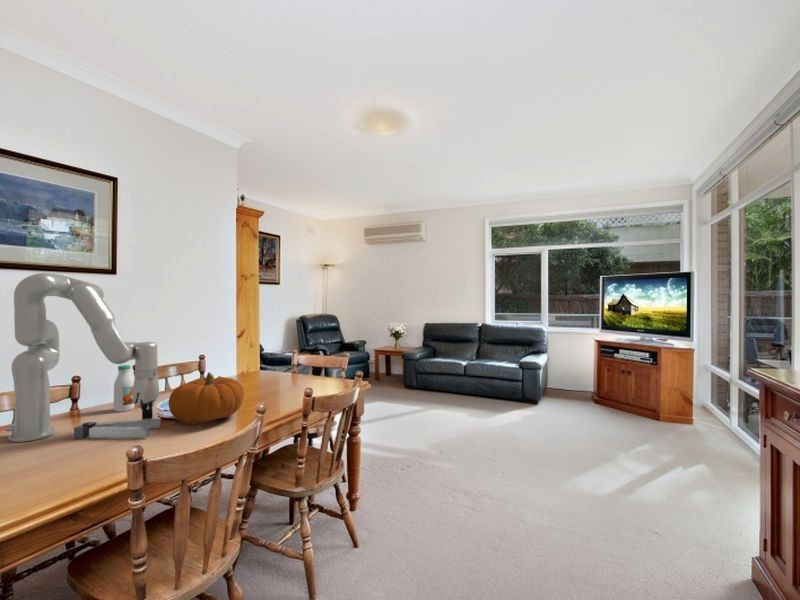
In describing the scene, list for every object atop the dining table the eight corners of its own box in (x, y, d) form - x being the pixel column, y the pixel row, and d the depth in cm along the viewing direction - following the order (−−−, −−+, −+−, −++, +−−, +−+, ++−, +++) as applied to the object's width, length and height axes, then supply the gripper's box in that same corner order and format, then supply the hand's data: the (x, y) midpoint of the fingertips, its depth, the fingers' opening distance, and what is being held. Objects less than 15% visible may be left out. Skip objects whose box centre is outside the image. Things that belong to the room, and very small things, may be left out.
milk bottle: (114, 413, 174) (114, 367, 174) (112, 409, 180) (112, 365, 180) (135, 410, 180) (135, 365, 179) (133, 406, 185) (133, 363, 185)
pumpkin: (237, 406, 186) (237, 364, 186) (250, 423, 163) (250, 374, 163) (167, 416, 171) (167, 369, 171) (170, 435, 148) (170, 381, 148)
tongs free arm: (95, 434, 148) (95, 424, 147) (97, 432, 150) (97, 422, 150) (159, 427, 155) (159, 418, 155) (160, 425, 157) (160, 417, 157)
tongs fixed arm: (74, 438, 144) (74, 426, 144) (88, 432, 150) (88, 420, 150) (144, 439, 144) (144, 426, 144) (155, 433, 150) (155, 421, 150)
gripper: (149, 369, 167) (149, 413, 167) (124, 377, 152) (125, 425, 152) (166, 369, 167) (167, 413, 167) (144, 377, 152) (144, 425, 152)
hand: (147, 418), depth 160 cm, fingers closed
